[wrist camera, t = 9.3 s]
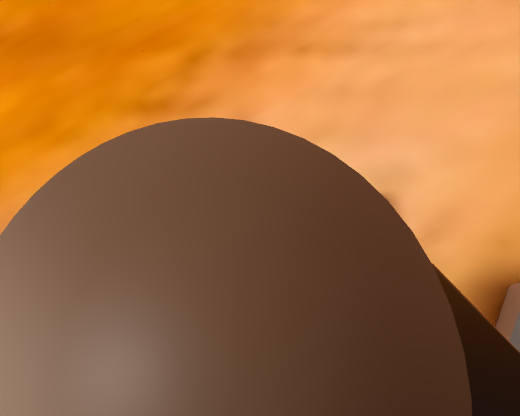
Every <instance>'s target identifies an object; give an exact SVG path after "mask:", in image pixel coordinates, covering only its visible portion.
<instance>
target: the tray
mask: <svg viewBox="0 0 520 416" xmlns="http://www.w3.org/2000/svg"><path fill="white" fill-rule="evenodd" d="M496 328H497V329H498V330H499V331H500V332H501V333H502V334H503V335H504V336H505V337H506V339H507V340H508V341H509V342H510V343H511V344H512V345H513V346H514V347H515V348H516V349H517V350H518V351H519V352H520V282H519V283H516V284H513V285H509V288H508V291H507V294H506V297H505V300H504V303H503V306H502V309H501V312H500V315H499V318H498V321H497V324H496Z"/></svg>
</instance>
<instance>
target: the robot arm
mask: <svg viewBox="0 0 520 416" xmlns="http://www.w3.org/2000/svg"><path fill="white" fill-rule="evenodd" d="M431 264H432V263H431ZM432 265H433V267H434V269H435V271H436V274H437V276H438V278H439V281H440V283H441V285H442V287H443V290H444V292H445V294H446V297H447V299H448V301H449V304H450V306H451V308H452V312H453V315H454V319H455V322H456V326H457V329H458V332H459V336H460V339H461V343H462V346H463V350H464V354H465V360H466V367H467V373H468V380H469V386H470V393H471V399H472V416H520V352H519V351H518V350H517V349H516V348H515V347H514V346H513V345H512V344H511V343H510V342H509V341H508V340H507V339H506V337H505V336H504V335H503V334H502V333H501V332H500V331H499V330H498V329H497V328H496V327H495V326H494V325H493V324H492V323H491V322H490V321H489V320H488V319H487V318H486V317H485V316H484V315H483V314H482V313H481V312H480V311H479V310H478V309H477V308H476V307H475V306H474V305H473V304H472V303H471V302H470V301H469V300H468V299H467V298H466V297H465V296H464V295H463V294H462V293H461V292H460V291H459V290H458V289H457V288H456V287H455V286H454V285H453V284H452V283H451V282H450V281H449V280H448V279H447V278H446V277H445V276H444V275H443V274H442V273H441V271H440V270H439V269H438V268H437V267H436V266H435V265H434V264H432Z"/></svg>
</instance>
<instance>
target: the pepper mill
mask: <svg viewBox="0 0 520 416" xmlns="http://www.w3.org/2000/svg"><path fill="white" fill-rule="evenodd" d="M0 416H472V399H471V393H470V386H469V380H468V373H467V367H466V360H465V354H464V350H463V346H462V343H461V339H460V336H459V332H458V329H457V326H456V322H455V319H454V315H453V312H452V308H451V306H450V304H449V301H448V299H447V297H446V294H445V292H444V290H443V287H442V285H441V283H440V281H439V278H438V276H437V274H436V271H435V269H434V267H433V265H432V264H431V262H430V260H429V259H428V257H427V255H426V254H425V252H424V250H423V249H422V247H421V245H420V244H419V242H418V240H417V239H416V237H415V235H414V234H413V232H412V231H411V229H410V228H409V227H408V226H407V224H406V223H405V222H404V221H403V219H402V218H401V217H400V216H399V214H398V213H397V212H396V211H395V209H394V208H393V207H392V206H391V204H390V203H389V202H388V201H387V200H386V199H385V198H384V197H383V196H382V195H381V194H380V193H379V192H378V191H377V190H376V189H375V188H374V187H373V186H372V185H371V184H370V183H369V182H368V181H367V180H366V179H365V178H364V177H362V176H361V175H360V174H359V173H358V172H356V171H355V170H353V169H352V168H351V167H349V166H348V165H347V164H345V163H344V162H342V161H341V160H340V159H338V158H337V157H336V156H334V155H333V154H331V153H329V152H328V151H326V150H324V149H322V148H320V147H318V146H316V145H315V144H313V143H311V142H309V141H307V140H305V139H304V138H301V137H298V136H296V135H293V134H290V133H288V132H285V131H282V130H280V129H277V128H274V127H271V126H266V125H262V124H258V123H253V122H249V121H245V120H235V119H224V118H191V119H180V120H174V121H169V122H163V123H157V124H153V125H150V126H147V127H143V128H140V129H137V130H133V131H130V132H128V133H125V134H123V135H121V136H118V137H116V138H114V139H112V140H109V141H107V142H105V143H103V144H101V145H99V146H97V147H96V148H94V149H92V150H91V151H89V152H87V153H85V154H84V155H82V156H80V157H79V158H77V159H76V160H74V161H73V162H72V163H70V164H69V165H68V166H66V167H65V168H64V169H62V170H61V171H60V172H58V173H57V174H56V175H54V176H53V177H52V178H51V179H50V180H49V181H48V182H47V183H46V184H45V185H43V186H42V187H41V188H40V189H39V190H38V191H37V192H36V193H35V194H34V195H33V196H32V197H31V198H30V199H29V200H28V201H27V203H26V204H25V205H24V206H23V207H22V208H21V209H20V210H19V211H18V213H17V214H16V215H15V216H14V217H13V219H12V220H11V221H10V223H9V224H8V225H7V227H6V228H5V230H4V231H3V232H2V234H1V235H0Z"/></svg>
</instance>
